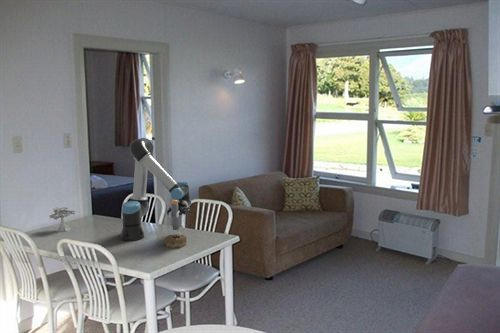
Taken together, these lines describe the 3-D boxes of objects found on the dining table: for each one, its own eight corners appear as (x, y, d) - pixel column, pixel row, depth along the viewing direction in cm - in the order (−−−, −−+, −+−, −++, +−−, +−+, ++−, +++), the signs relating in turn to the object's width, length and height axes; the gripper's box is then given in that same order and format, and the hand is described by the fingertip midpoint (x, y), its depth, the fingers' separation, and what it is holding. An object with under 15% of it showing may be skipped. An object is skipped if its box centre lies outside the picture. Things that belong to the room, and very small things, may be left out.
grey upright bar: (171, 228, 300) (170, 200, 298) (178, 228, 302) (176, 199, 300) (173, 230, 297) (172, 201, 294) (180, 229, 298) (178, 200, 296)
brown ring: (163, 243, 304) (163, 235, 303) (182, 241, 309) (182, 233, 308) (169, 248, 293) (168, 240, 292) (188, 246, 298) (187, 238, 297)
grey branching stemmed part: (51, 234, 328) (49, 210, 326) (47, 229, 342) (45, 206, 340) (78, 231, 337) (77, 207, 335) (74, 226, 351) (72, 203, 349)
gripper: (194, 212, 316) (187, 221, 293) (168, 212, 317) (159, 221, 294) (194, 201, 315) (186, 209, 292) (168, 201, 316) (159, 209, 293)
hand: (173, 215), depth 293 cm, fingers closed on grey upright bar, 4 cm apart
